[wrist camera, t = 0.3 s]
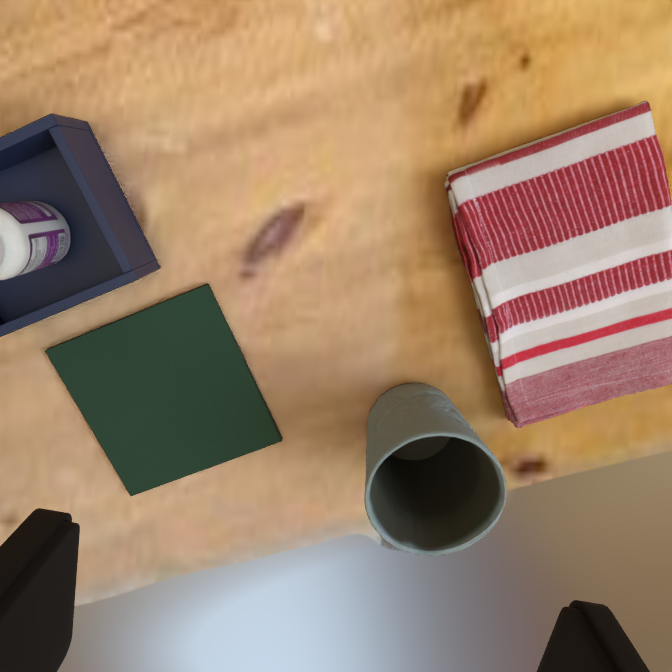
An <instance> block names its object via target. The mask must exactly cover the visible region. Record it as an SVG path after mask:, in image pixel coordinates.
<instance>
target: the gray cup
mask: <svg viewBox="0 0 672 672" xmlns="http://www.w3.org/2000/svg"><path fill="white" fill-rule="evenodd" d="M366 455H367V457H366V482H365V508H366V512H367V515H368V518H369V520H370V522H371V524H372V526H373V527H374V529H375V530H376V531H377V532H378V533H379V535H380V536H381V537H382V538H383V539H385V540H386V541H387V542H389V543H390V544H392V545H393V546H395V547H397V548H398V549H401V550H403V551H406V552H409V553H413V554H417V555H426V556H435V555H445V554H449V553H453V552H457V551H460V550H462V549H464V548H466V547H468V546H470V545H472V544H473V543H475V542H476V541H478V540H479V539H481V538H482V537H483V536H485V535H486V534H487V533H488V532H489V531H490V530H491V529H492V528H493V526H494V525H495V523H496V522H497V520H498V519H499V517H500V515H501V512H502V511H503V508H504V504H505V500H506V481H505V476H504V472H503V470H502V467H501V465H500V463H499V461H498V460H497V458H496V457H495V456H494V454H493V453H492V452H491V451H490V450H489V448H488V447H487V446H486V445H485V444H484V442H483V441H482V440H481V439H480V437H479V436H478V435H477V433H475V432H474V430H473V429H472V428H471V426H470V425H469V423H468V422H467V421H466V420H465V419H464V418H463V416H462V415H461V413H460V412H459V410H458V409H457V408H456V406H455V405H454V404H453V403H452V401H451V400H450V399H449V398H448V397H447V396H446V395H445V394H444V393H443V392H441V391H440V390H438V389H436V388H434V387H432V386H429V385H425V384H421V383H408V384H403V385H399V386H397V387H394V388H392V389H390V390H388V391H387V392H386V393H384V394H383V395H381V396H380V397H379V399H378V400H377V401H376V403H375V404H374V405H373V407H372V409H371V410H370V414H369V417H368V421H367V447H366Z"/></svg>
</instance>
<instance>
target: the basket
mask: <svg viewBox="0 0 672 672" xmlns="http://www.w3.org/2000/svg"><path fill="white" fill-rule="evenodd" d="M20 201H39V202H43V203H46V204H48V205H50V206H52V207H54V208H55V209H56V210H57V211H58V212H59V213H61V215H62V216H63V217H64V218H65V220H66V222H67V224H68V226H69V229H70V237H71V240H70V247H69V250H68V252H67V254H66V255H65V256H64V257H63V258H62V259H61V260H60V261H58V262H57V263H55V264H53V265H50V266H47V267H44V268H41V269H37V270H34V271H31V272H28V273H25V274H22V275H19V276H15V277H13V278H9V279H6V280H0V337H1V336H4V335H6V334H9V333H11V332H13V331H16V330H18V329H21V328H23V327H25V326H28V325H30V324H33V323H35V322H37V321H40V320H42V319H45V318H47V317H49V316H52V315H54V314H57V313H59V312H61V311H64V310H66V309H68V308H71V307H73V306H76V305H78V304H80V303H83V302H85V301H88V300H90V299H92V298H95V297H97V296H100V295H102V294H104V293H107V292H109V291H112V290H114V289H116V288H119V287H121V286H124V285H126V284H128V283H131V282H133V281H136V280H138V279H140V278H142V277H144V276H146V275H148V274H150V273H152V272H154V271H156V270H158V269H160V266H159V264H158V262H157V260H156V258H155V256H154V254H153V252H152V250H151V248H150V246H149V244H148V242H147V240H146V238H145V236H144V234H143V232H142V230H141V228H140V226H139V224H138V222H137V220H136V218H135V216H134V214H133V212H132V210H131V208H130V206H129V204H128V202H127V200H126V198H125V196H124V194H123V192H122V190H121V188H120V186H119V184H118V182H117V180H116V178H115V176H114V174H113V172H112V170H111V168H110V166H109V164H108V162H107V160H106V158H105V156H104V154H103V152H102V150H101V148H100V146H99V144H98V142H97V140H96V138H95V136H94V134H93V132H92V130H91V128H90V126H89V124H88V122H87V121H82V120H77V119H73V118H69V117H64V116H60V115H55V114H49V115H47V116H45V117H43V118H41V119H39V120H37V121H34V122H32V123H30V124H28V125H26V126H24V127H22V128H19V129H17V130H15V131H13V132H11V133H9V134H7V135H5V136H2V137H0V203H7V202H20Z"/></svg>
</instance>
